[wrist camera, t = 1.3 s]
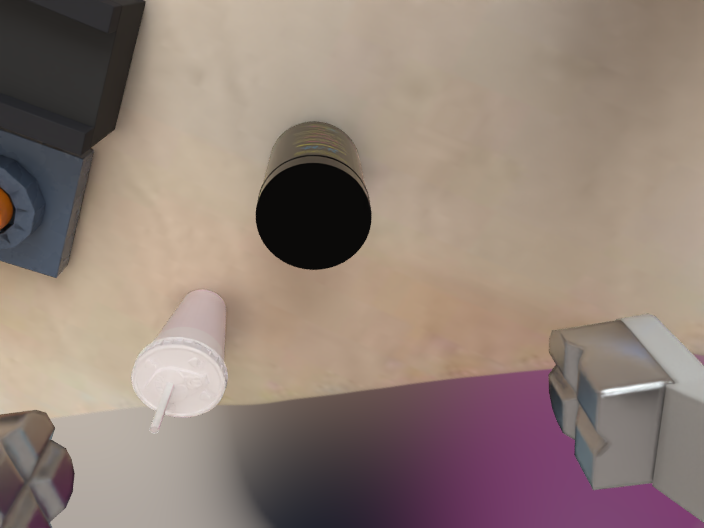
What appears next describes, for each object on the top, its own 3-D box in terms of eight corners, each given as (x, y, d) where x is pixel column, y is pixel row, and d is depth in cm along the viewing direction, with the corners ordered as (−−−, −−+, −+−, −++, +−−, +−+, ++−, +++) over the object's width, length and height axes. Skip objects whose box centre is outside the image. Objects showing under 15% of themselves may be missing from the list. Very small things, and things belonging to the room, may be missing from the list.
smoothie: (154, 280, 46) (93, 395, 34) (233, 269, 46) (201, 380, 34) (176, 345, 49) (127, 472, 37) (250, 334, 49) (226, 459, 36)
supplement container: (257, 129, 41) (240, 176, 32) (350, 109, 41) (360, 150, 31) (281, 214, 44) (272, 280, 35) (367, 196, 44) (381, 257, 34)
